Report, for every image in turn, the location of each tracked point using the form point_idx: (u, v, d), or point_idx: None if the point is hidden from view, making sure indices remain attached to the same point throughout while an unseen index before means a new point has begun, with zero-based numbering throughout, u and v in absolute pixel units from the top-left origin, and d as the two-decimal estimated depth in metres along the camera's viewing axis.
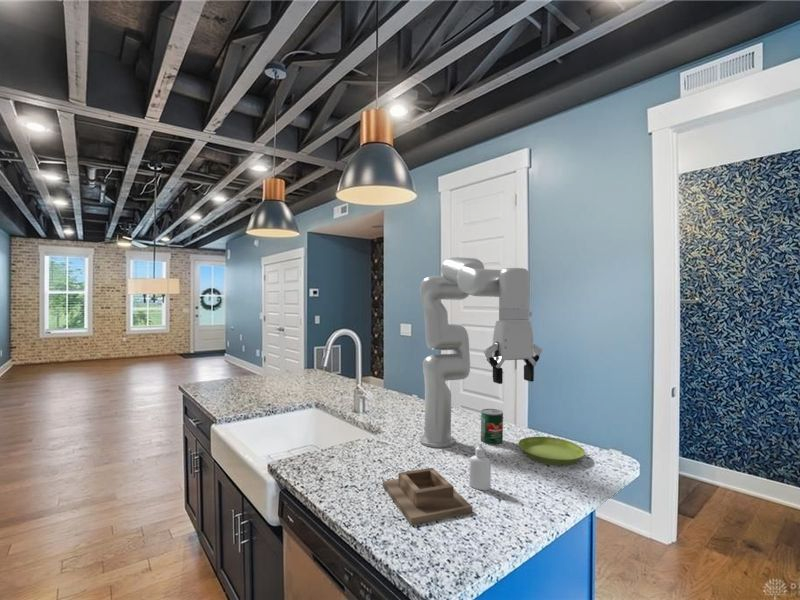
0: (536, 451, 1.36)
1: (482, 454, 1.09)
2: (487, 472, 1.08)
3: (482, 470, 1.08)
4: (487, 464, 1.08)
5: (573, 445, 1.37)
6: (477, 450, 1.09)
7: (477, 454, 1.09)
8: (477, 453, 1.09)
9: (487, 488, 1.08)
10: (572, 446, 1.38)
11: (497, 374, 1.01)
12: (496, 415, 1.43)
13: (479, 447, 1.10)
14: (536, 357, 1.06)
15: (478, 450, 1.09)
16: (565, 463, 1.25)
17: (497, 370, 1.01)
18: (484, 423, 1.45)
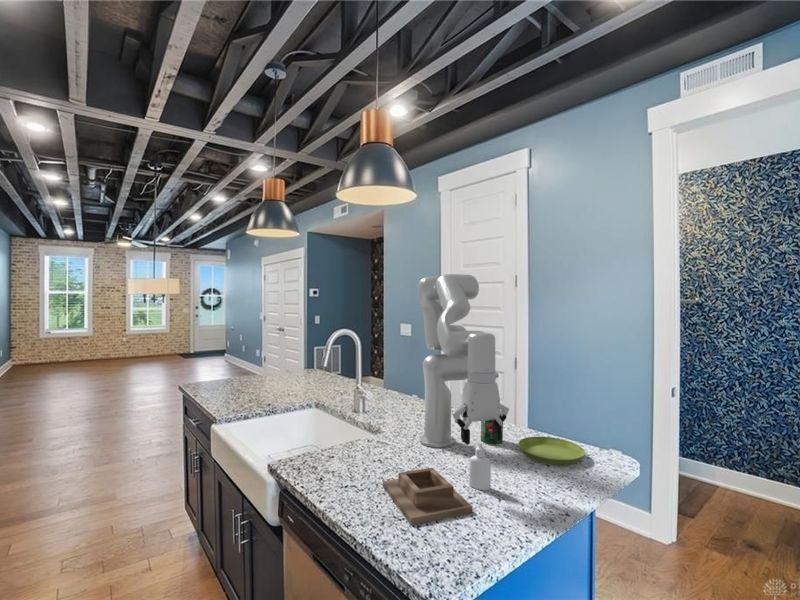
0: (536, 451, 1.36)
1: (482, 454, 1.09)
2: (487, 472, 1.08)
3: (482, 470, 1.08)
4: (487, 464, 1.08)
5: (573, 445, 1.37)
6: (477, 450, 1.09)
7: (477, 454, 1.09)
8: (477, 453, 1.09)
9: (487, 488, 1.08)
10: (572, 446, 1.38)
11: (465, 435, 1.07)
12: None
13: (479, 447, 1.10)
14: (503, 416, 1.11)
15: (478, 450, 1.09)
16: (565, 463, 1.25)
17: (465, 431, 1.07)
18: (484, 423, 1.45)
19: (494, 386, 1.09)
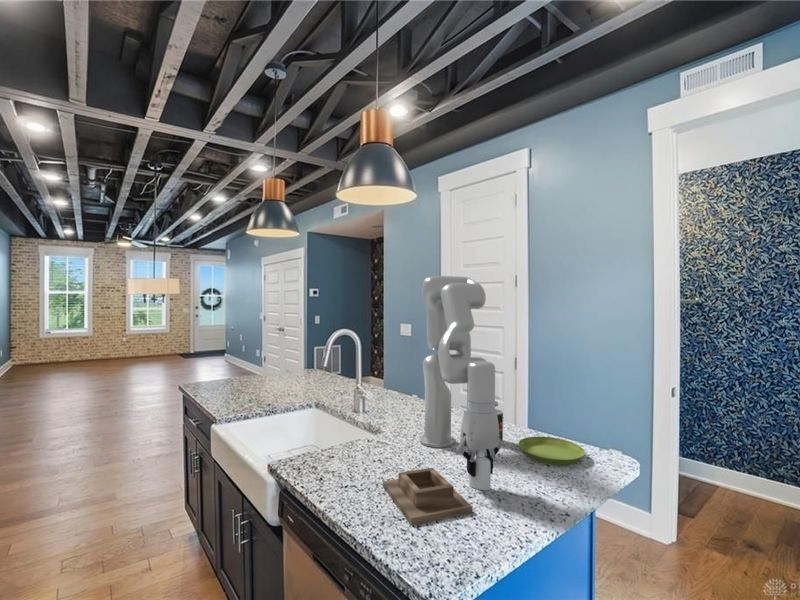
0: (536, 451, 1.36)
1: (482, 454, 1.09)
2: (487, 472, 1.08)
3: (481, 470, 1.08)
4: (487, 464, 1.08)
5: (573, 445, 1.37)
6: None
7: (477, 454, 1.09)
8: (477, 453, 1.09)
9: (487, 488, 1.08)
10: (572, 446, 1.38)
11: (471, 467, 1.08)
12: None
13: None
14: (495, 450, 1.11)
15: None
16: (565, 463, 1.25)
17: (471, 464, 1.08)
18: None
19: (493, 415, 1.09)
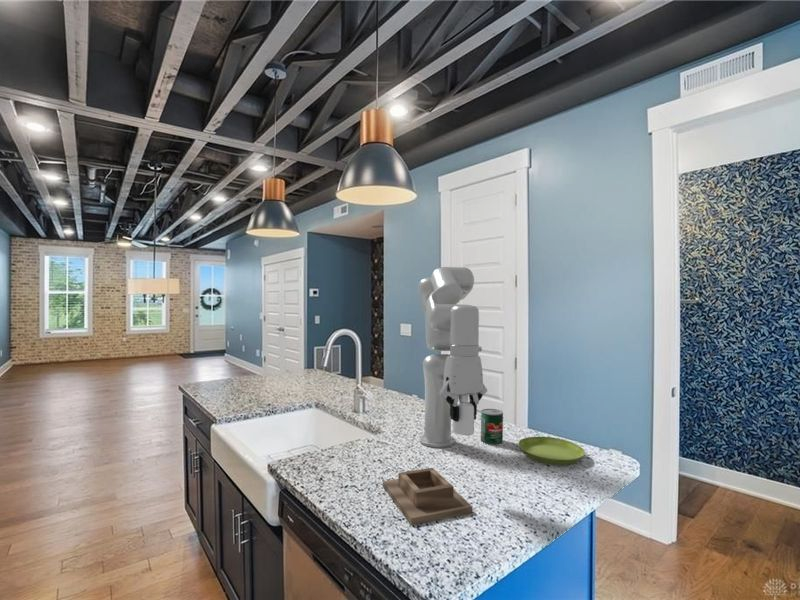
0: (536, 451, 1.36)
1: (465, 399, 1.07)
2: (470, 417, 1.06)
3: (465, 415, 1.06)
4: (470, 409, 1.06)
5: (573, 445, 1.37)
6: (460, 395, 1.07)
7: (460, 399, 1.07)
8: (460, 398, 1.07)
9: (470, 433, 1.06)
10: (572, 446, 1.38)
11: (454, 412, 1.06)
12: (496, 415, 1.43)
13: None
14: (479, 395, 1.09)
15: (461, 395, 1.07)
16: (565, 463, 1.25)
17: (454, 408, 1.06)
18: (484, 423, 1.45)
19: (477, 359, 1.07)
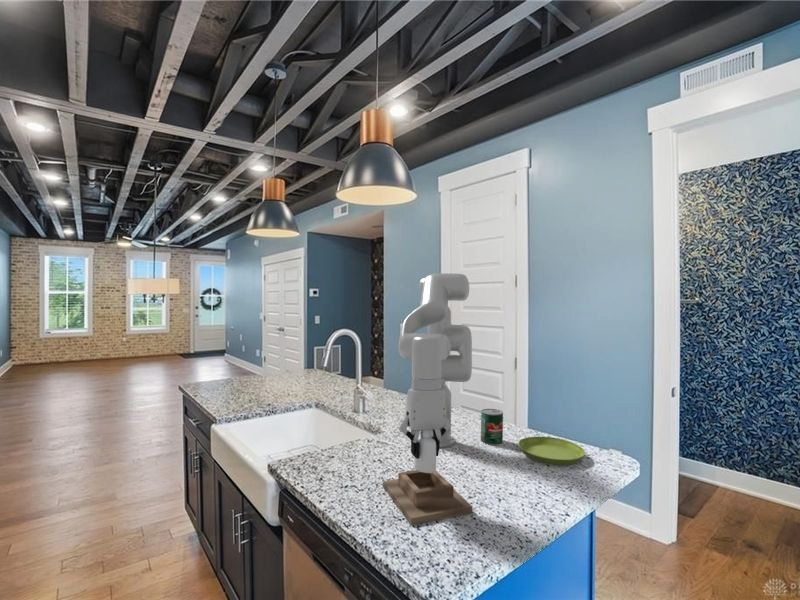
0: (536, 451, 1.36)
1: (426, 434, 1.02)
2: (431, 453, 1.01)
3: (426, 452, 1.01)
4: (431, 445, 1.01)
5: (573, 445, 1.37)
6: (421, 430, 1.02)
7: (421, 434, 1.02)
8: (421, 433, 1.02)
9: (431, 471, 1.01)
10: (572, 446, 1.38)
11: (414, 448, 1.01)
12: (496, 415, 1.43)
13: None
14: (442, 430, 1.04)
15: (422, 430, 1.02)
16: (565, 463, 1.25)
17: (414, 444, 1.01)
18: (484, 423, 1.45)
19: (439, 393, 1.02)
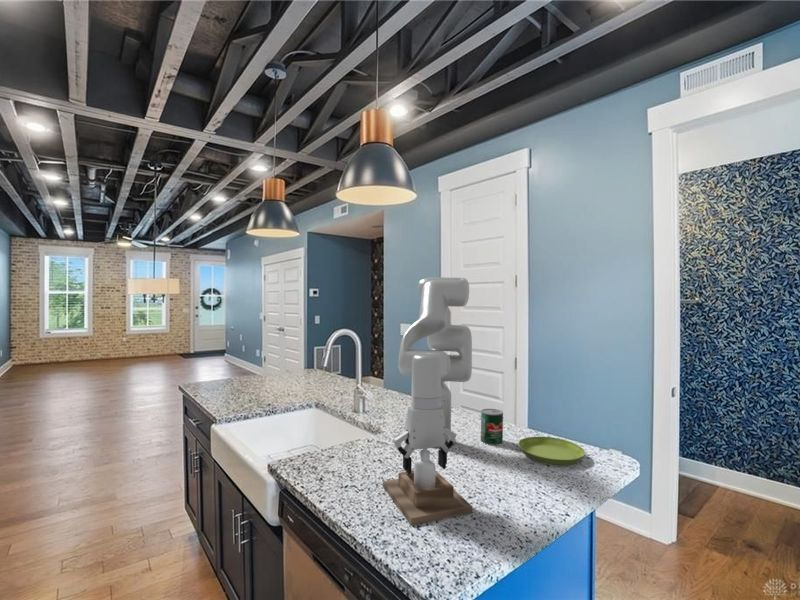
0: (536, 451, 1.36)
1: (426, 457, 1.02)
2: (430, 477, 1.01)
3: (424, 475, 1.01)
4: (430, 468, 1.01)
5: (573, 445, 1.37)
6: (421, 453, 1.03)
7: (421, 457, 1.03)
8: (421, 456, 1.03)
9: None
10: (572, 446, 1.38)
11: (406, 464, 1.00)
12: (496, 415, 1.43)
13: (423, 450, 1.03)
14: (450, 443, 1.05)
15: (422, 453, 1.02)
16: (565, 463, 1.25)
17: (406, 460, 1.00)
18: (484, 423, 1.45)
19: (439, 412, 1.02)
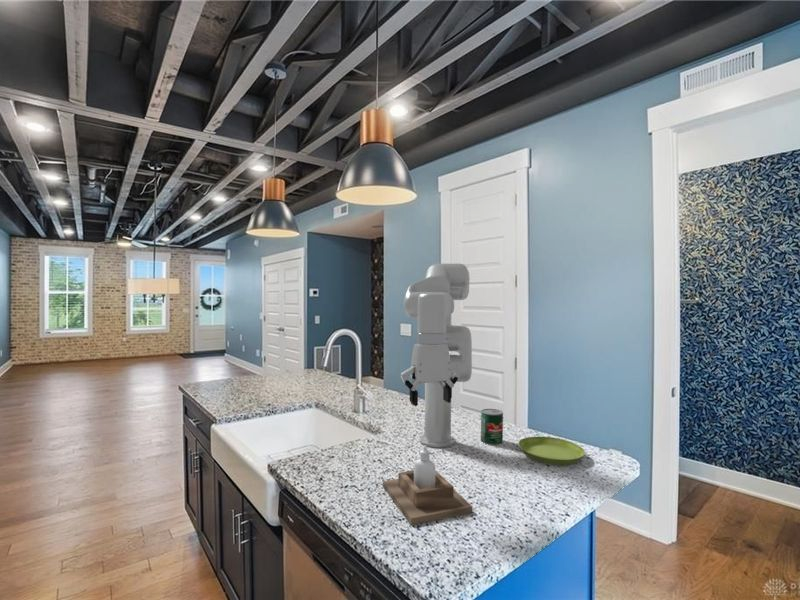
0: (536, 451, 1.36)
1: (426, 457, 1.02)
2: (430, 477, 1.01)
3: (424, 475, 1.01)
4: (430, 468, 1.01)
5: (573, 445, 1.37)
6: (421, 453, 1.03)
7: (421, 457, 1.03)
8: (421, 456, 1.03)
9: None
10: (572, 446, 1.38)
11: (413, 396, 1.05)
12: (496, 415, 1.43)
13: (423, 450, 1.03)
14: (454, 379, 1.09)
15: (422, 453, 1.02)
16: (565, 463, 1.25)
17: (413, 393, 1.05)
18: (484, 423, 1.45)
19: (444, 347, 1.06)
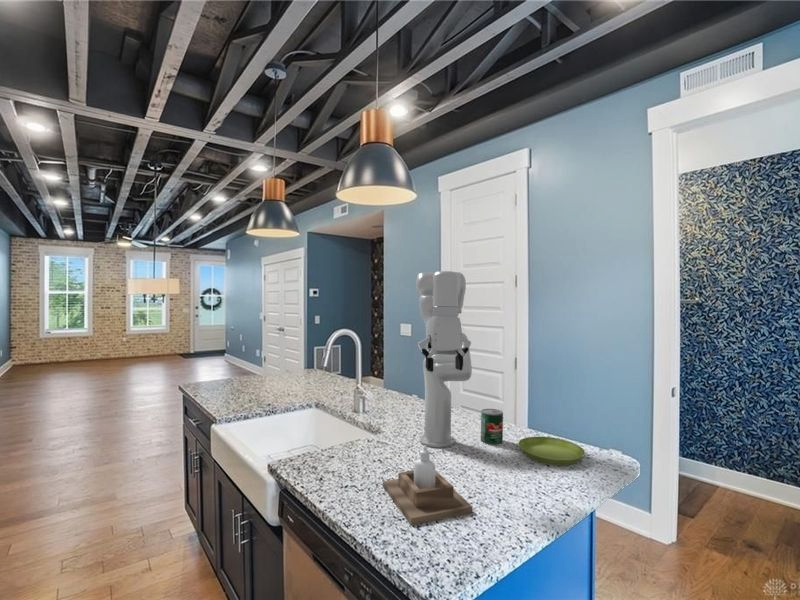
0: (536, 451, 1.36)
1: (426, 457, 1.02)
2: (430, 477, 1.01)
3: (424, 475, 1.01)
4: (430, 468, 1.01)
5: (573, 445, 1.37)
6: (421, 453, 1.03)
7: (421, 457, 1.03)
8: (421, 456, 1.03)
9: None
10: (572, 446, 1.38)
11: (429, 363, 1.17)
12: (496, 415, 1.43)
13: (423, 450, 1.03)
14: (465, 349, 1.21)
15: (422, 453, 1.02)
16: (565, 463, 1.25)
17: (429, 360, 1.17)
18: (484, 423, 1.45)
19: (456, 320, 1.19)
